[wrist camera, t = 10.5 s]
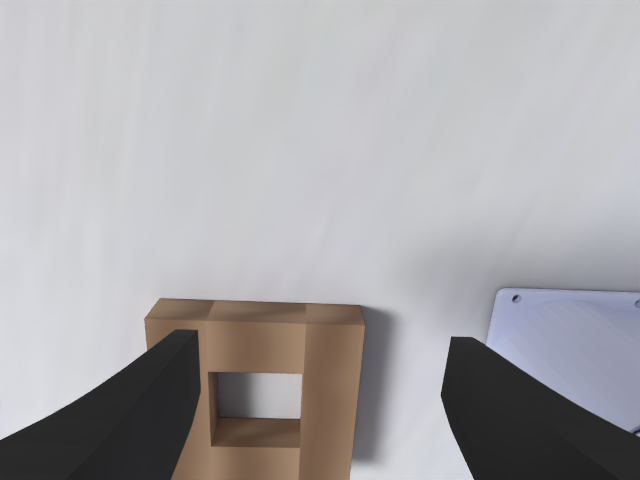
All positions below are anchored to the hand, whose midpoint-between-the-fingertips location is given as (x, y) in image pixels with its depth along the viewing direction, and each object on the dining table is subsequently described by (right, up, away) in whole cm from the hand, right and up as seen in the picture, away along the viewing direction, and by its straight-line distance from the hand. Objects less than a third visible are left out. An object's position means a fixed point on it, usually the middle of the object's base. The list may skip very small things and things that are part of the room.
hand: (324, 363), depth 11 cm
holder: (-4, -5, +13) cm, 14 cm away
